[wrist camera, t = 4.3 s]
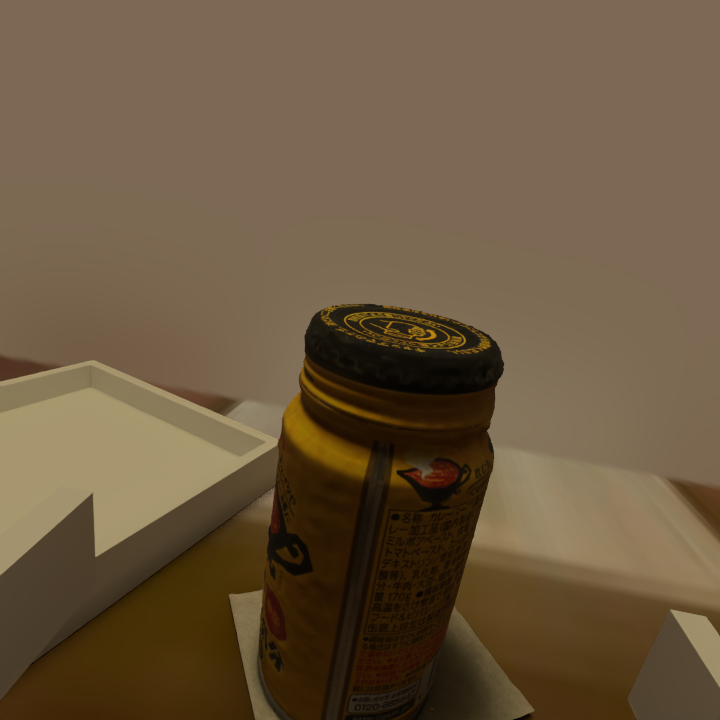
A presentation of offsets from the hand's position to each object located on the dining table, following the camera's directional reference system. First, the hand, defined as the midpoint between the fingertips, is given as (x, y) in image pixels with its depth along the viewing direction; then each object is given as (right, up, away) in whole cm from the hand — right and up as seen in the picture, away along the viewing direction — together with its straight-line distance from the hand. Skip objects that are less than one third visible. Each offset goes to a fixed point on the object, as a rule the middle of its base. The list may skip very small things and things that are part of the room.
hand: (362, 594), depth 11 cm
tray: (-14, -1, +11) cm, 18 cm away
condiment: (0, -5, +6) cm, 8 cm away
